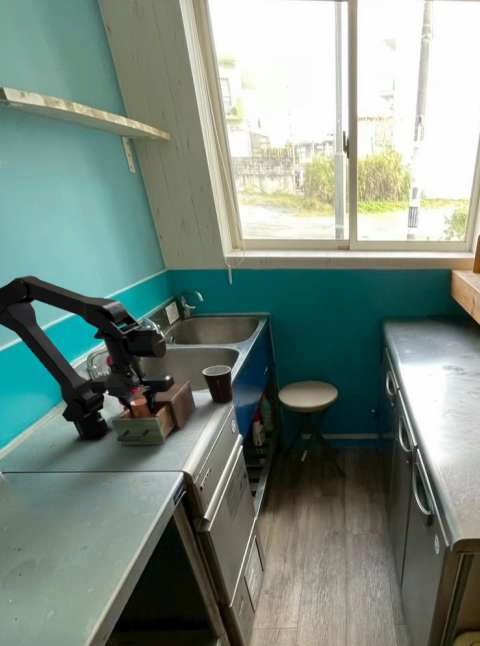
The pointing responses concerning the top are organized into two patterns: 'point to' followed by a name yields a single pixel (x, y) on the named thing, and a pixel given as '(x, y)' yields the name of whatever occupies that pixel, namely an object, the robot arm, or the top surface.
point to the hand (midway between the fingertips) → (143, 413)
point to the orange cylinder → (141, 409)
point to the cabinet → (175, 401)
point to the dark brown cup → (219, 383)
